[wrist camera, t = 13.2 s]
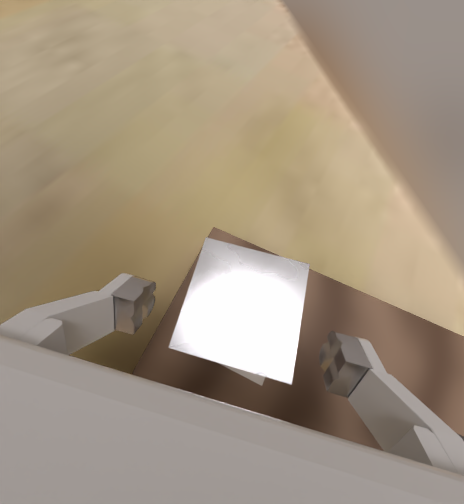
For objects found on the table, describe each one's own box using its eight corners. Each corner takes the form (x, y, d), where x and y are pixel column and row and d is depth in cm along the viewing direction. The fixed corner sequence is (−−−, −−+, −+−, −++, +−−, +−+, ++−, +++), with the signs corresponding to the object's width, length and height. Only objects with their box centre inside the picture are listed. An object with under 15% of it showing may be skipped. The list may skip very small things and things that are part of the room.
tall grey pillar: (194, 340, 16) (168, 347, 9) (214, 275, 17) (205, 237, 10) (261, 359, 15) (291, 384, 8) (274, 291, 17) (309, 264, 10)
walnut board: (129, 388, 16) (54, 433, 9) (214, 234, 21) (208, 183, 13) (431, 560, 13) (661, 818, 6) (452, 339, 18) (600, 345, 11)
